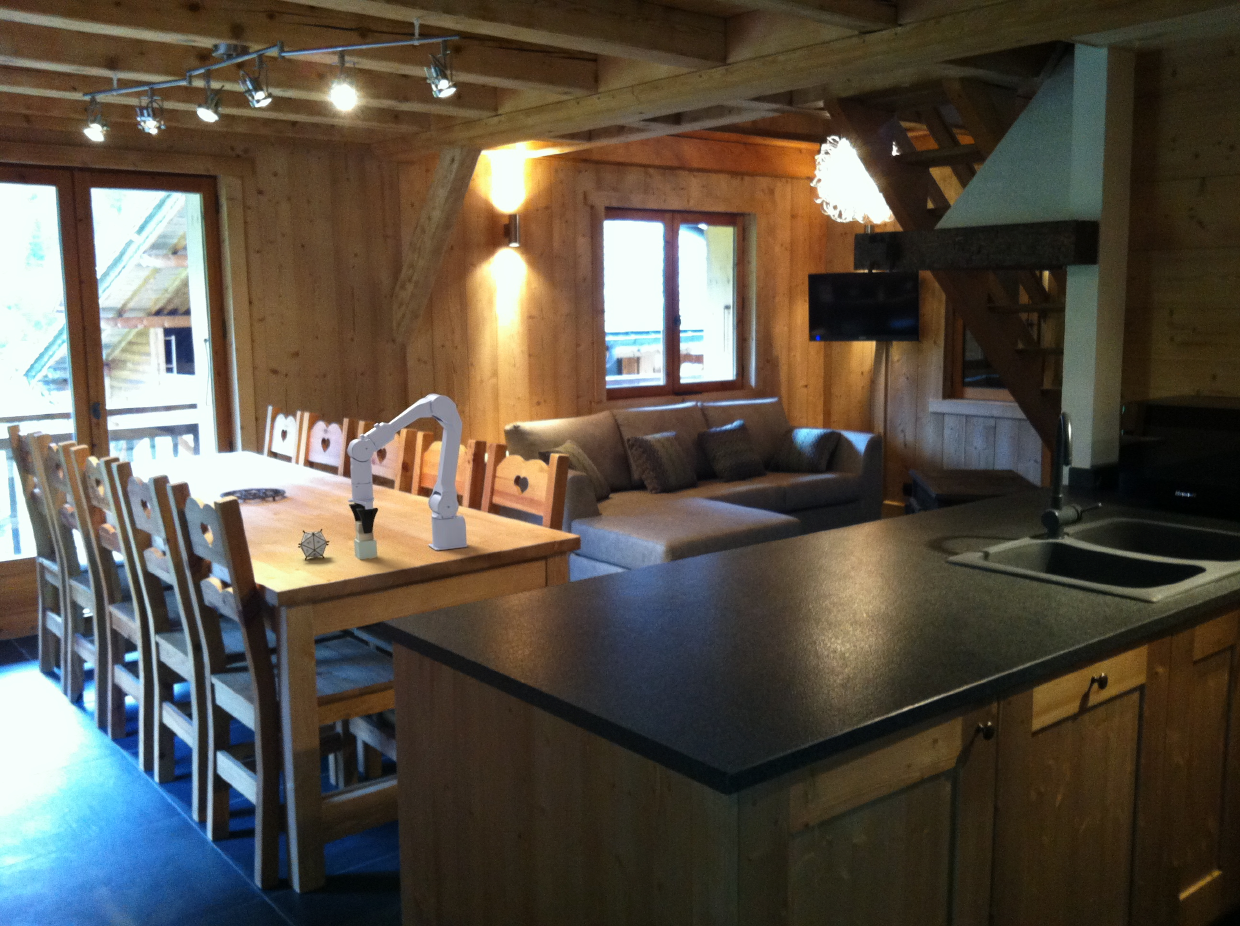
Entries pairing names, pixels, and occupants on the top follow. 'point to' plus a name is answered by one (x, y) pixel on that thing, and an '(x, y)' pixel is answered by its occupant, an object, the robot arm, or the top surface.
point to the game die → (313, 544)
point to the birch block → (362, 533)
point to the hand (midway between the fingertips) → (364, 530)
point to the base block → (365, 549)
